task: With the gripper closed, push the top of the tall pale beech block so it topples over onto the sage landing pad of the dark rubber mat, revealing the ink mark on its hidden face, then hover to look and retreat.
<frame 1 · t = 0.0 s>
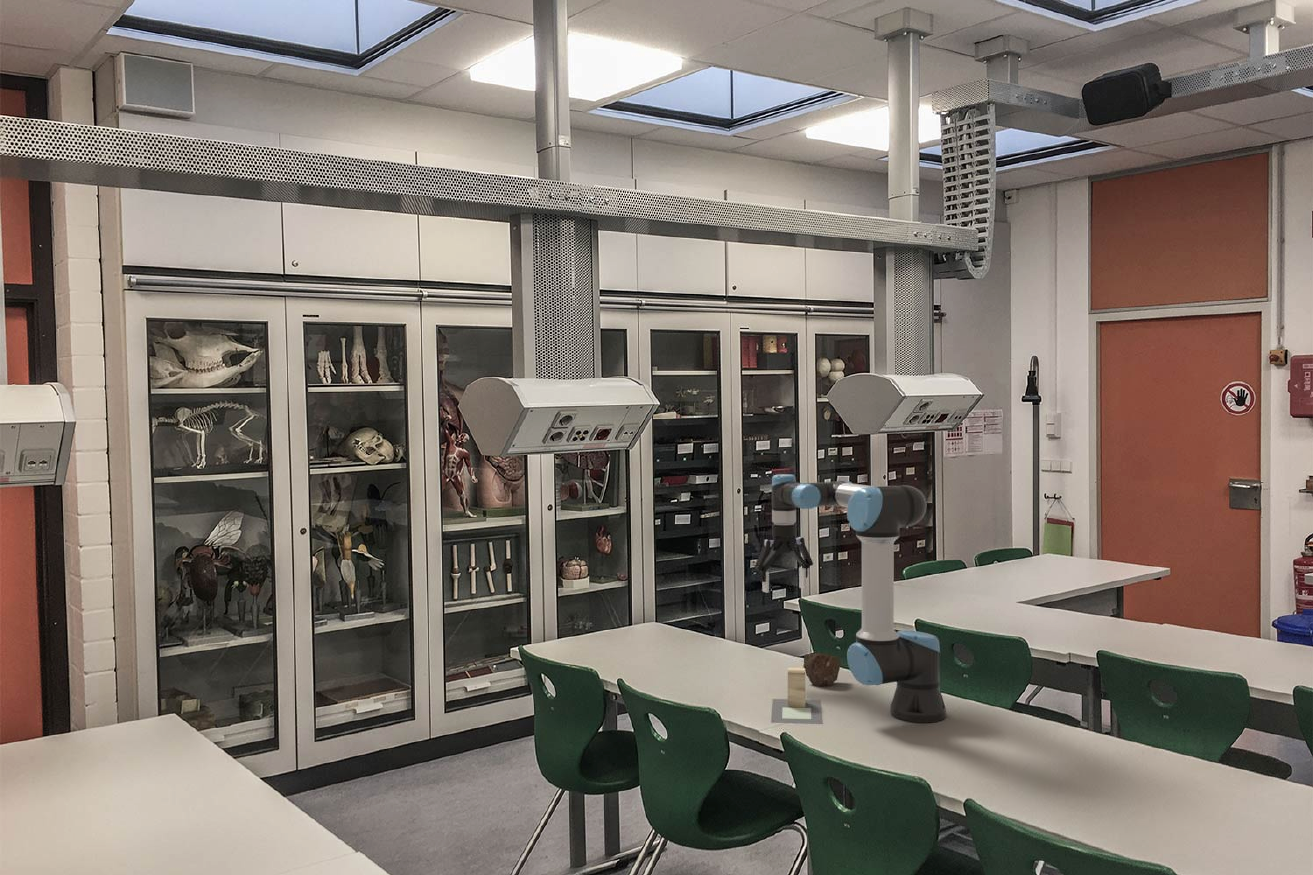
hand: (784, 590, 328), 28 cm above the table, fingers open, 13 cm apart
beech block: (796, 704, 300), resting on rubber mat
rubber mat: (796, 712, 294), on the table
rock: (822, 685, 321), on the table
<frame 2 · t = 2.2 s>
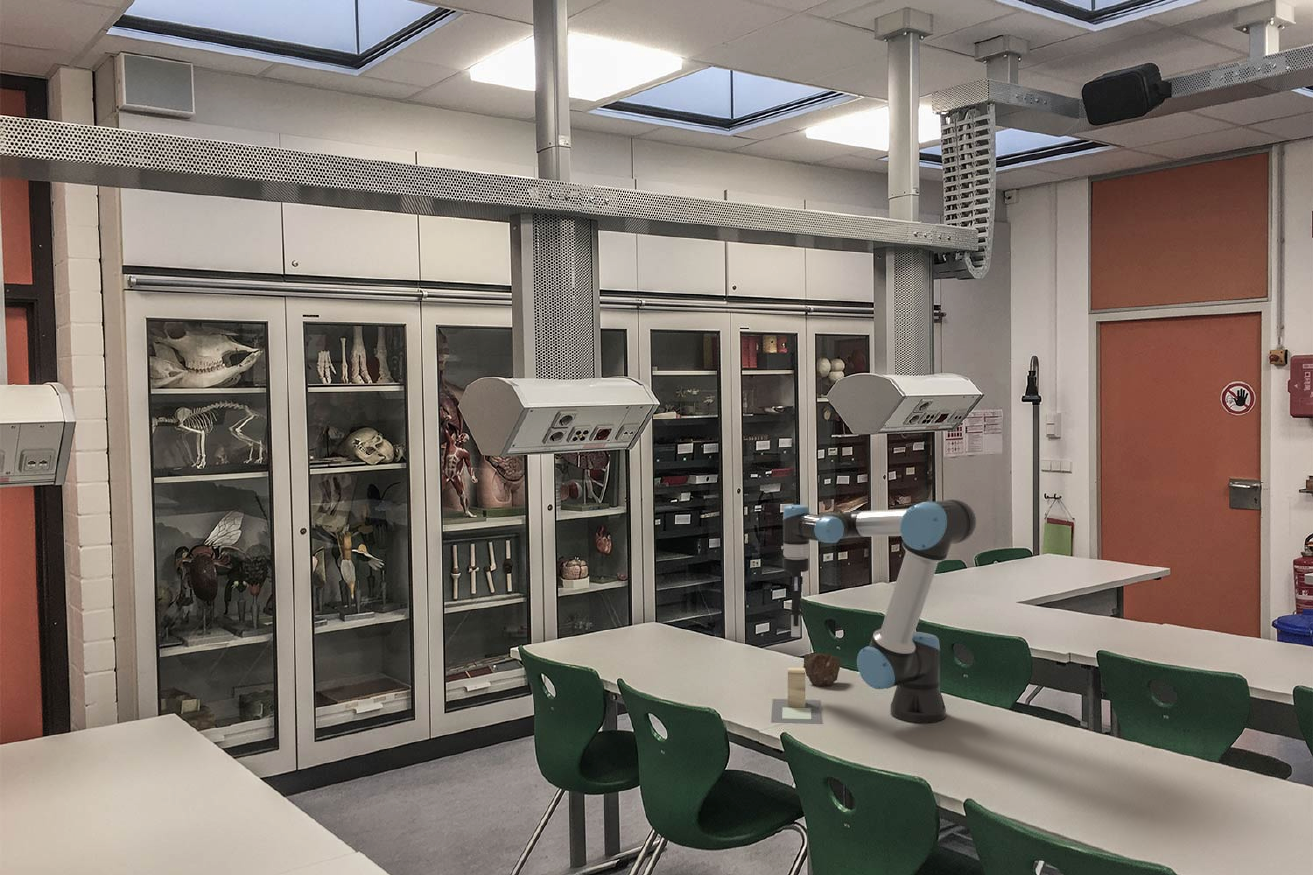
hand: (795, 636, 308), 18 cm above the table, fingers closed
nothing on the table moved.
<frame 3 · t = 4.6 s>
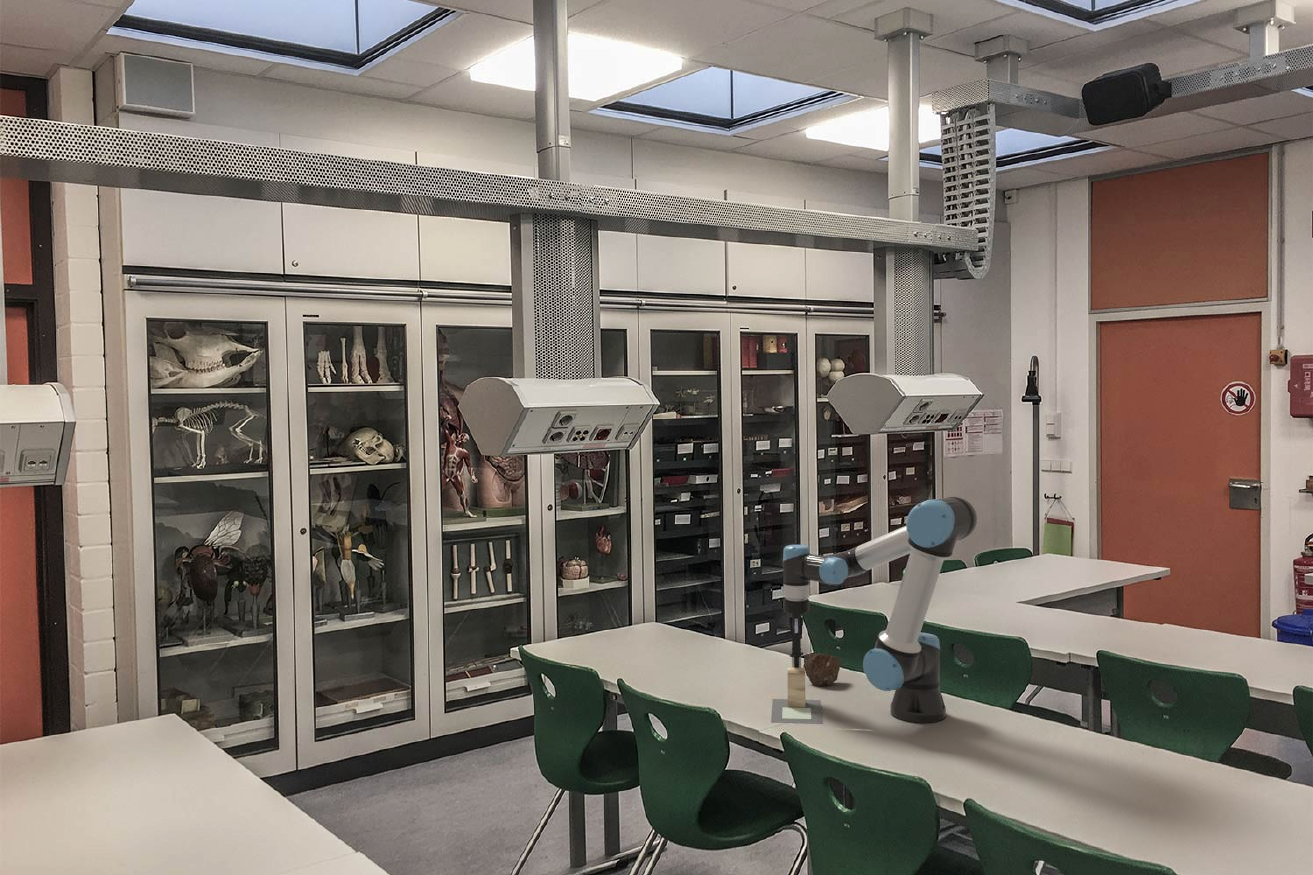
hand: (796, 678, 303), 7 cm above the table, fingers closed
beech block: (796, 703, 300), point 1 cm above the table, touching gripper, rubber mat
everything else where it was.
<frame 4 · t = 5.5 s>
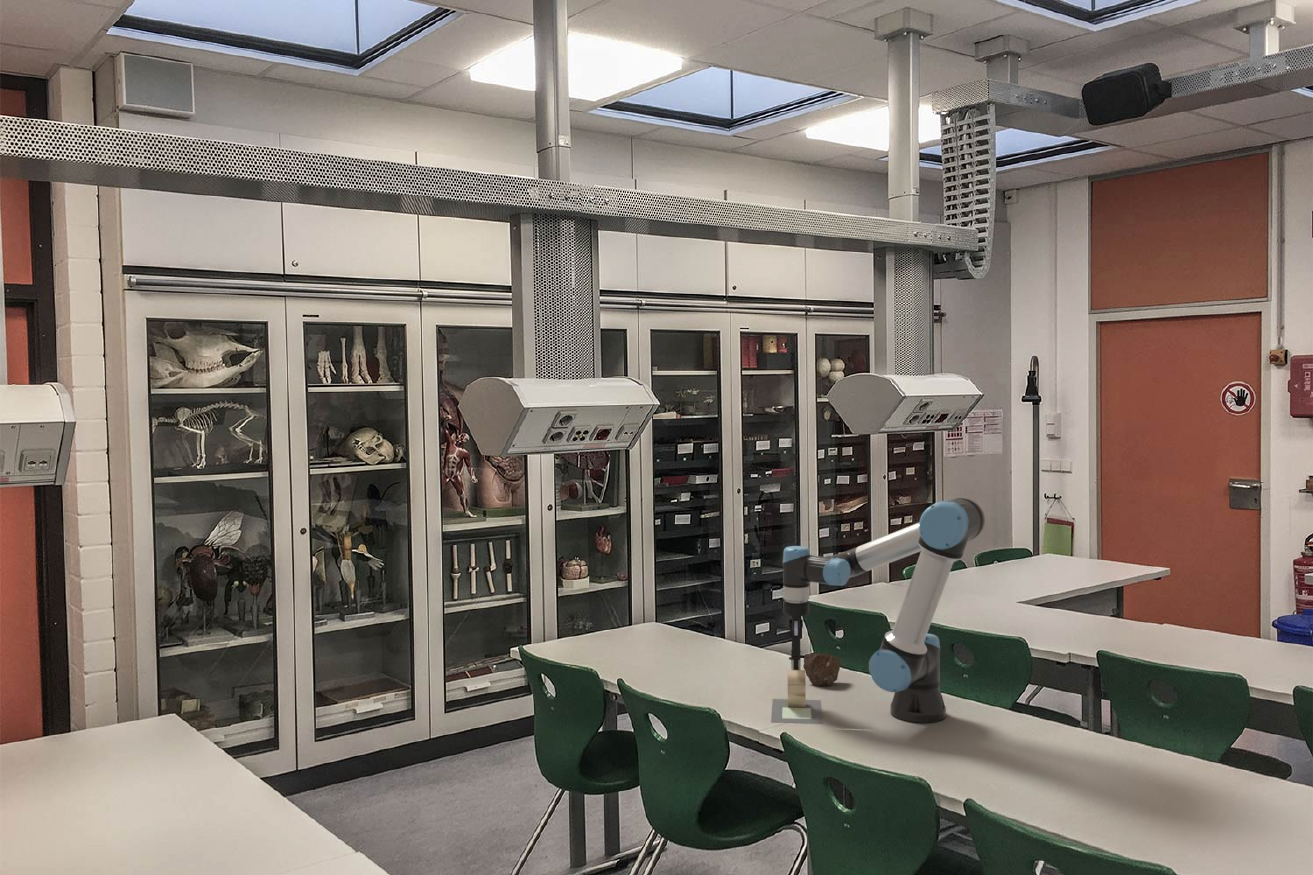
hand: (795, 680, 299), 7 cm above the table, fingers closed
beech block: (796, 700, 299), point 2 cm above the table, tilted 34°, touching gripper, rubber mat
everything else where it was.
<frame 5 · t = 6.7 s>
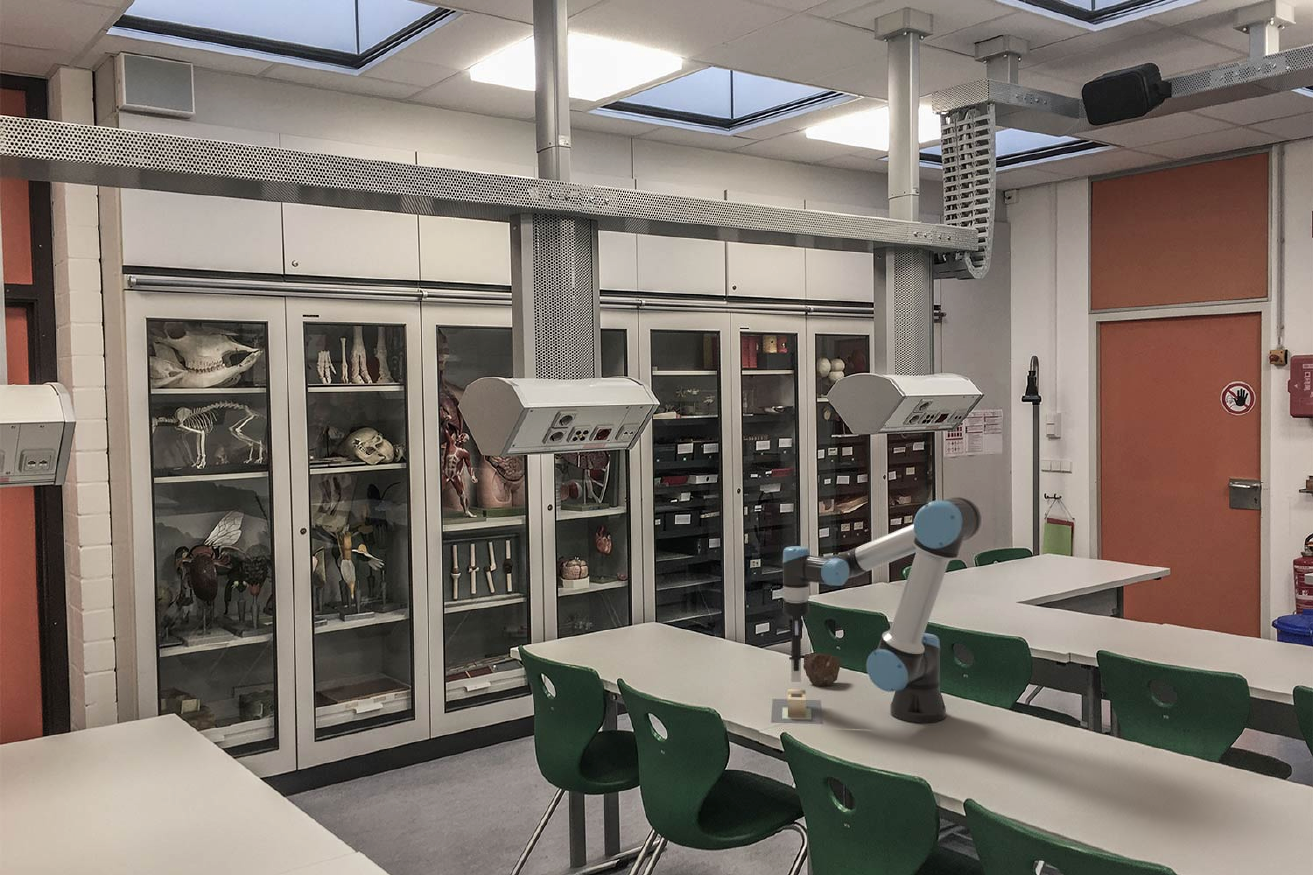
hand: (796, 680, 300), 7 cm above the table, fingers closed
beech block: (796, 698, 297), point 3 cm above the table, tilted 90°, touching rubber mat
everything else where it was.
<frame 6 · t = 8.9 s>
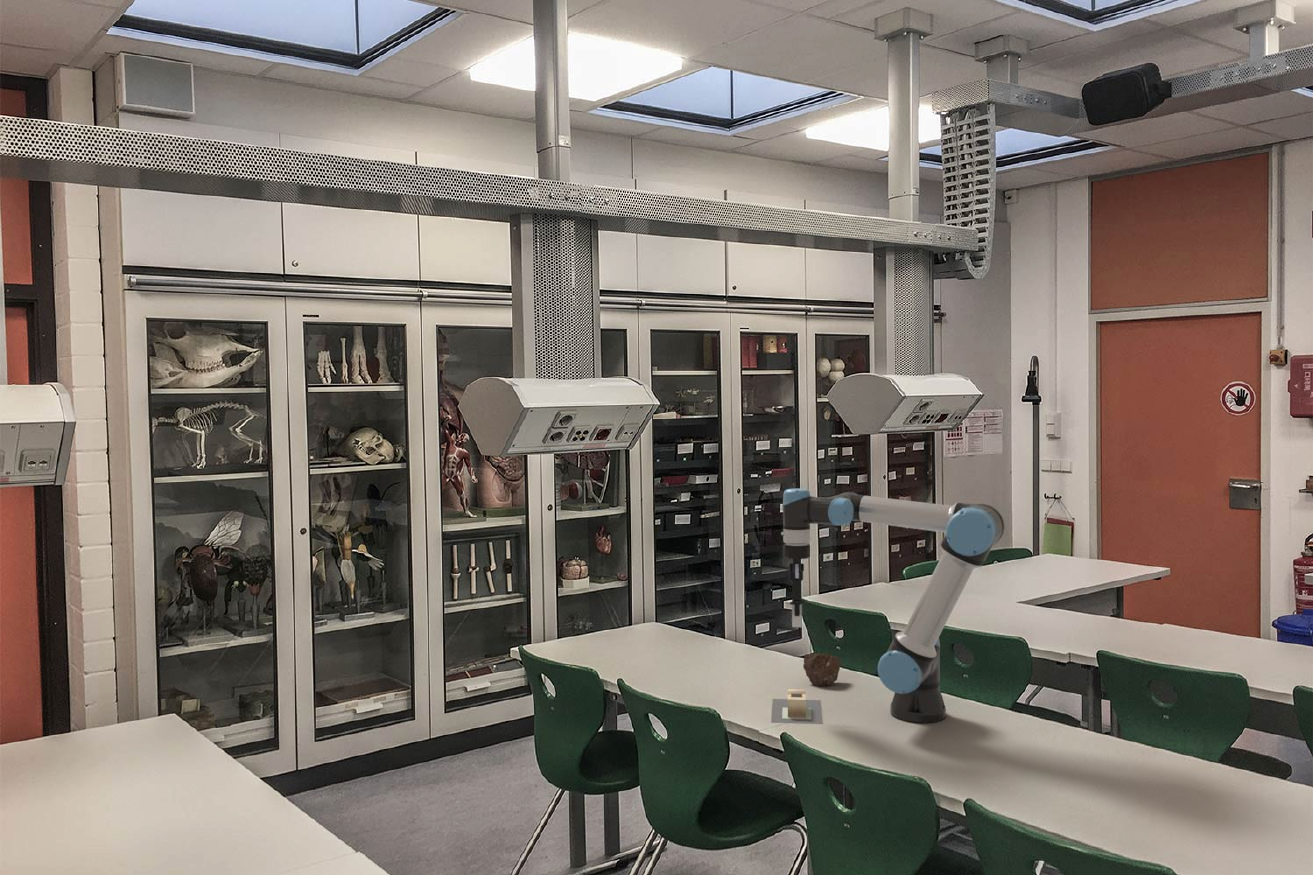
hand: (797, 626, 293), 24 cm above the table, fingers closed
nothing on the table moved.
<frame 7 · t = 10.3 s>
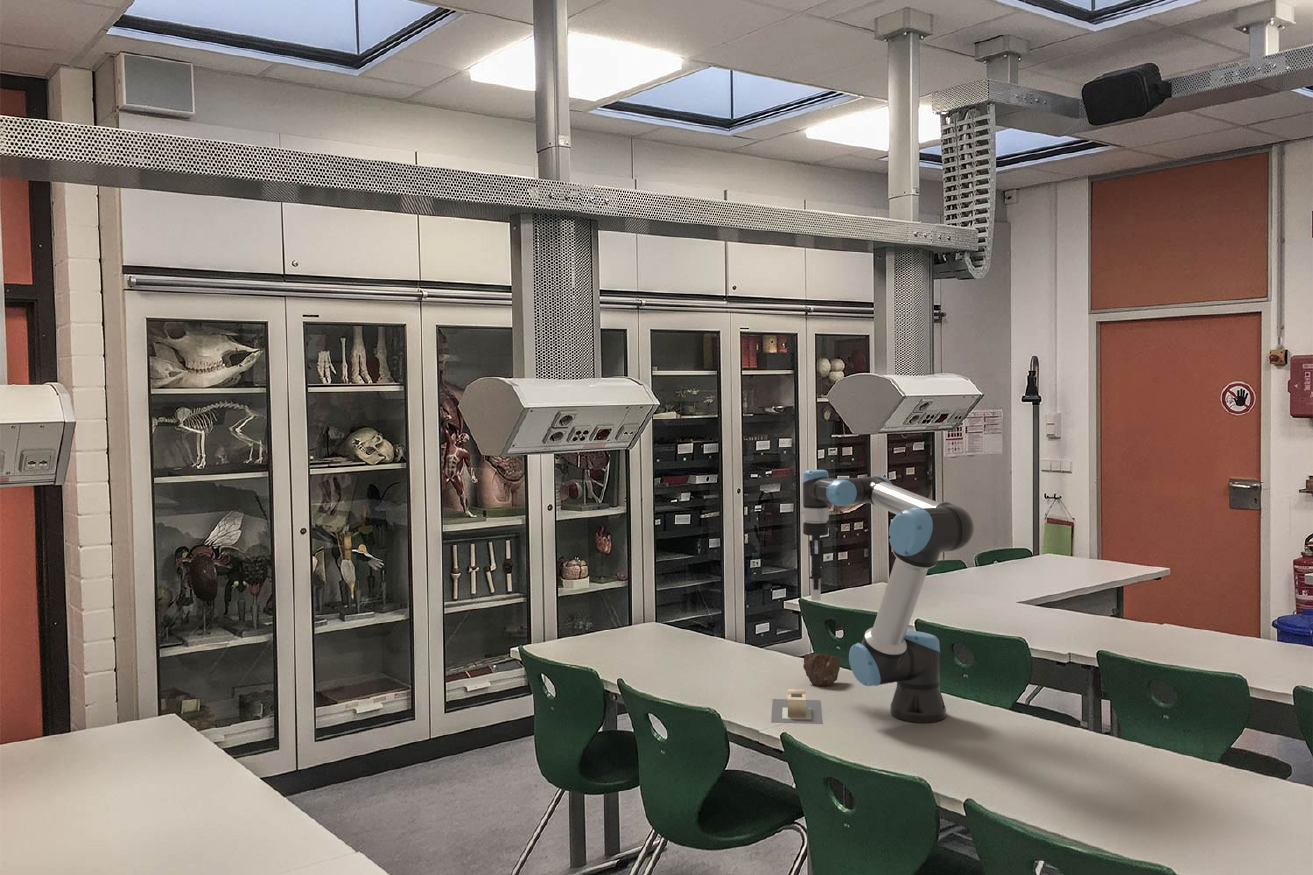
hand: (816, 599, 311), 28 cm above the table, fingers closed
nothing on the table moved.
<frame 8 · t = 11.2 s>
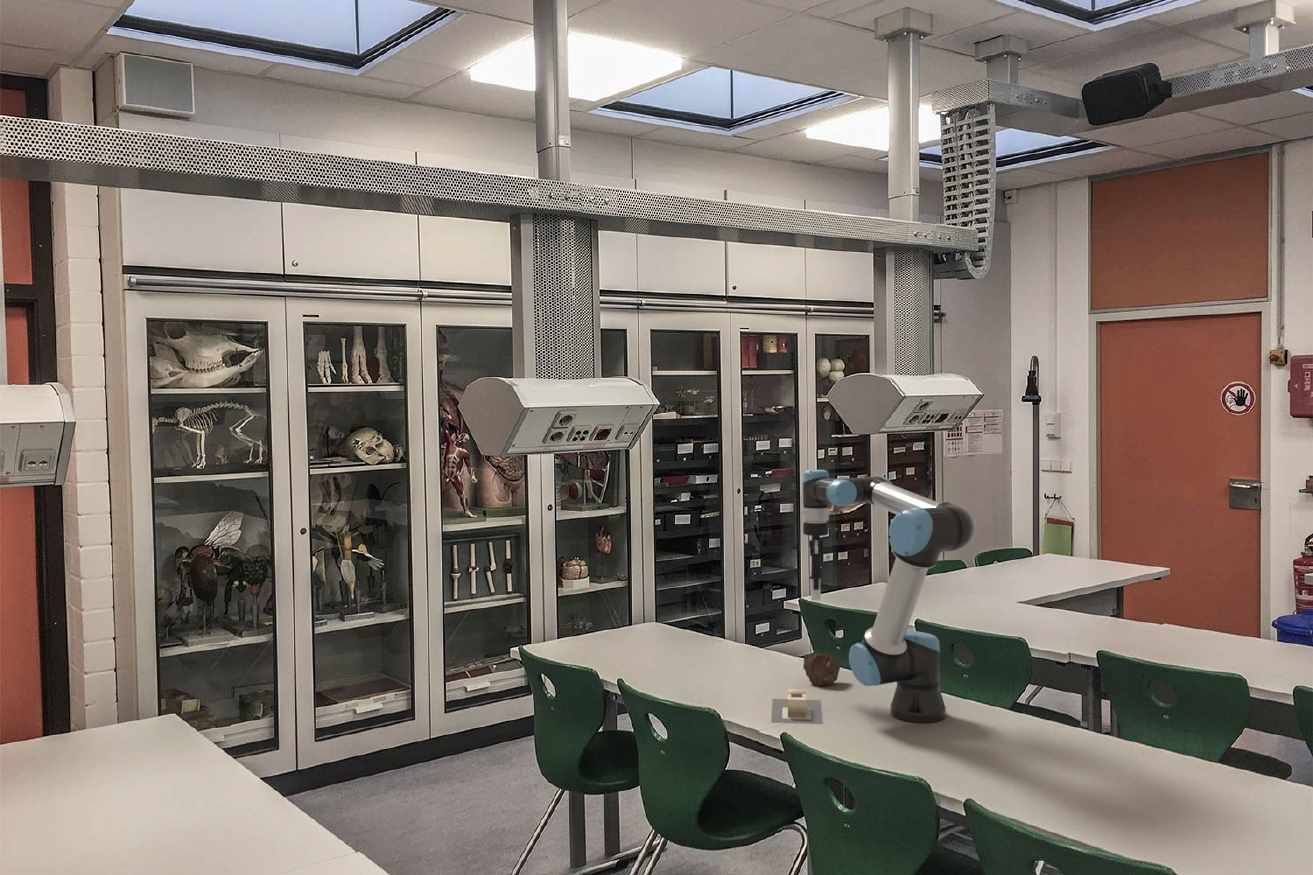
hand: (816, 599, 311), 28 cm above the table, fingers closed
nothing on the table moved.
at the end: beech block tilted 90°; beech block inside the target area (0.4 cm from its centre), point 3.0 cm above the table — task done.
